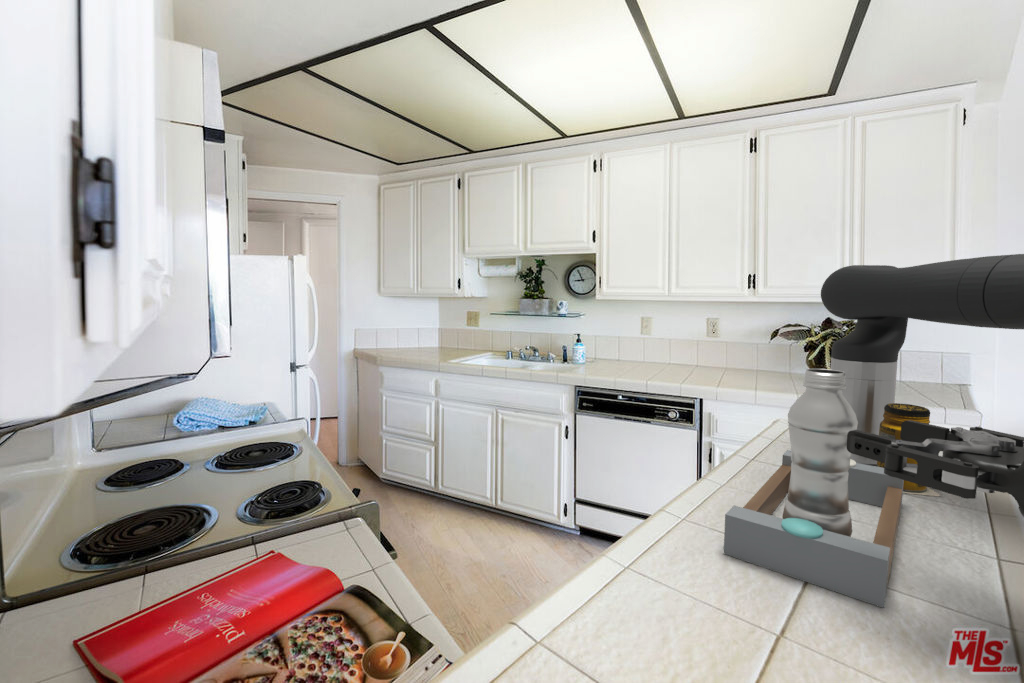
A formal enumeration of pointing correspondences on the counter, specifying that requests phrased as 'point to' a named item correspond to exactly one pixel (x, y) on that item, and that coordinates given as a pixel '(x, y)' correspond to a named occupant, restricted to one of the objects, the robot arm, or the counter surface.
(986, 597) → the counter surface
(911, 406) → the condiment
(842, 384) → the plastic bottle
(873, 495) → the grey beam
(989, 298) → the robot arm
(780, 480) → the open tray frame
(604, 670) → the counter surface
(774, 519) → the grey end board
